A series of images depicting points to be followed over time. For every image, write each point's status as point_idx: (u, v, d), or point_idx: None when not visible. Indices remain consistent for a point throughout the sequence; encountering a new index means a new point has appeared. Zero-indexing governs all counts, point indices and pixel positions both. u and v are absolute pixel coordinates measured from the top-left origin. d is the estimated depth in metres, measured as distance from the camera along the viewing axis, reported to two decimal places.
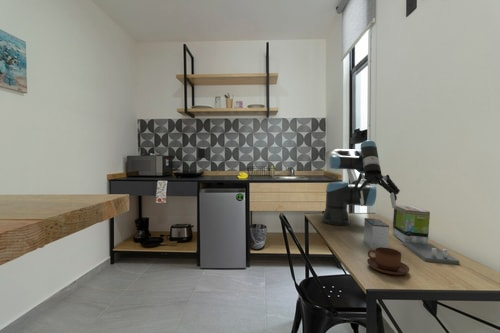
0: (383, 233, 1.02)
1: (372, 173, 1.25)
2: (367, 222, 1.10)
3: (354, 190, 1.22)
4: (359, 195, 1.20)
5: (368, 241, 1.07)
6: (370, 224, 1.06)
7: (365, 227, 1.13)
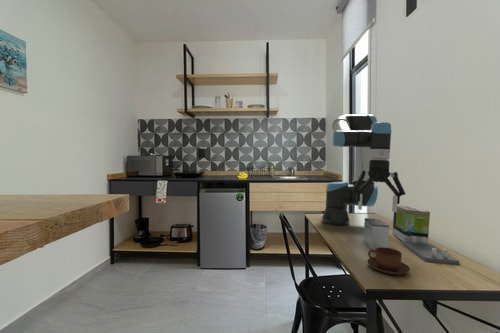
0: (383, 233, 1.02)
1: (378, 170, 1.07)
2: (367, 222, 1.10)
3: (353, 191, 1.09)
4: (358, 199, 1.08)
5: (368, 241, 1.07)
6: (370, 224, 1.06)
7: (365, 227, 1.13)
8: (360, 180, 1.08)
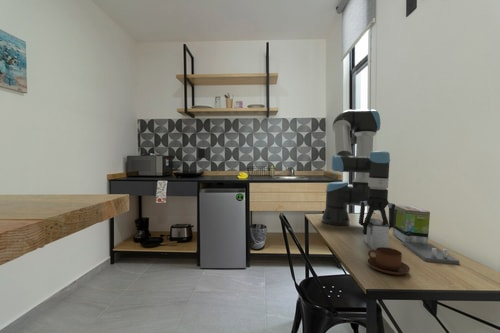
0: (383, 233, 1.02)
1: (376, 199, 1.07)
2: None
3: (360, 224, 1.09)
4: (365, 232, 1.08)
5: None
6: (370, 224, 1.06)
7: None
8: (362, 212, 1.08)
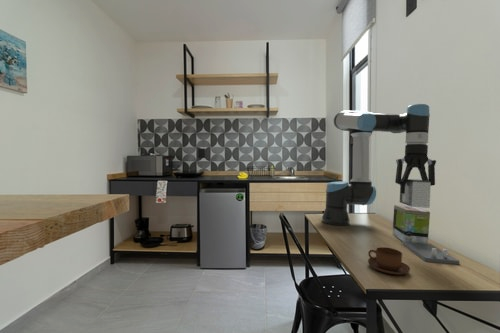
0: (424, 189, 0.96)
1: (415, 155, 1.01)
2: None
3: (397, 183, 1.03)
4: (403, 191, 1.02)
5: (407, 200, 1.01)
6: (409, 181, 1.00)
7: None
8: (400, 169, 1.02)
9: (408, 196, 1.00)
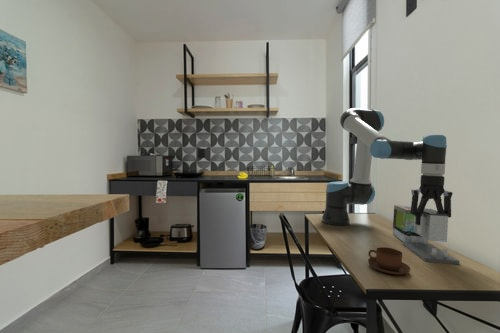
0: (442, 223, 0.94)
1: (431, 186, 0.99)
2: None
3: (413, 214, 1.01)
4: (418, 222, 1.00)
5: (423, 232, 0.99)
6: (425, 213, 0.98)
7: None
8: (416, 201, 1.00)
9: (424, 228, 0.98)
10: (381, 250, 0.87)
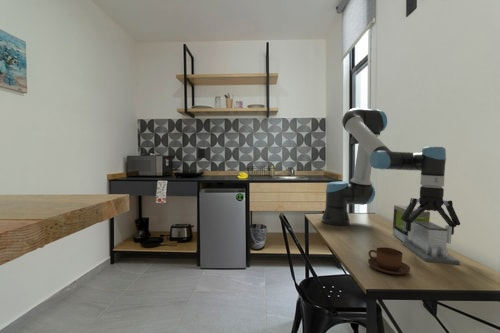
0: (441, 237, 0.94)
1: (431, 198, 0.99)
2: (419, 225, 1.02)
3: None
4: (409, 228, 1.01)
5: (422, 246, 0.99)
6: (424, 227, 0.98)
7: (415, 230, 1.05)
8: (411, 209, 1.00)
9: (423, 242, 0.98)
10: (381, 250, 0.87)
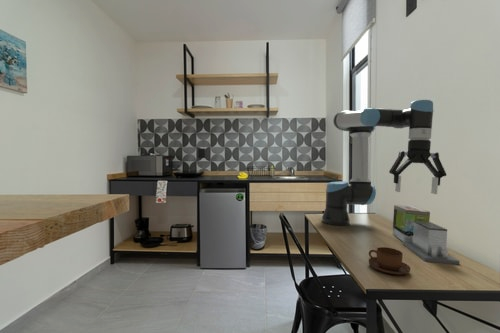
0: (441, 237, 0.94)
1: (418, 150, 1.02)
2: (419, 225, 1.02)
3: (391, 173, 1.04)
4: (396, 181, 1.04)
5: (422, 246, 0.99)
6: (424, 227, 0.98)
7: (415, 230, 1.05)
8: (399, 161, 1.03)
9: (423, 242, 0.98)
10: (381, 250, 0.87)
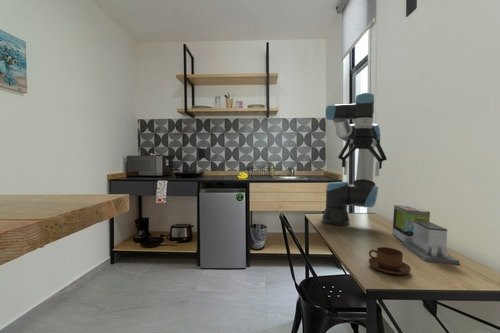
0: (441, 237, 0.94)
1: (362, 138, 1.15)
2: (419, 225, 1.02)
3: (339, 158, 1.18)
4: (343, 165, 1.17)
5: (422, 246, 0.99)
6: (424, 227, 0.98)
7: (415, 230, 1.05)
8: (345, 147, 1.16)
9: (423, 242, 0.98)
10: (381, 250, 0.87)
